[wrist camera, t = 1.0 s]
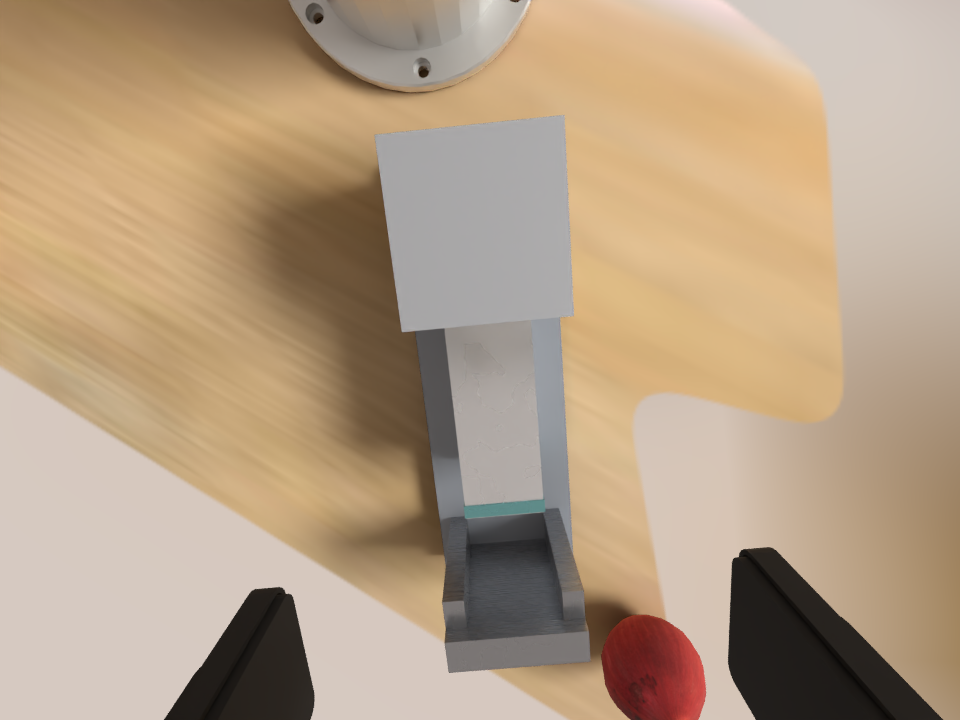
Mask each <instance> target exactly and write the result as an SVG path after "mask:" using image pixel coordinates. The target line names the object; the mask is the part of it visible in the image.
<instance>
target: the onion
mask: <svg viewBox="0 0 960 720" xmlns="http://www.w3.org/2000/svg"><path fill="white" fill-rule="evenodd" d="M601 658H602V665H603V672H604V679H605V685H606V687H607V690H608V692H609V695H610V697H611V698H612V700H613V701H614V703H615V704H616V706H617V707H618V708H619V709H620V710H621V711H622V712H623V713H624V714H625V715H626V716H627V717H628V718H629V719H631V720H698V719H699V717H700V714H701V711H702V708H703V705H704V702H705V697H706V685H705V677H704V670H703V665H702V662H701V659H700V656H699V655H698V653H697V651H696V650H695V648H694V647H693V645H692V643H691V642H690V640H689V639H688V638H687V637H686V635H685V634H684V633H683V632H682V631H680V630H679V629H678V628H676V627H674V626H673V625H672V624H670V623H669V622H667V621H665V620H663V619H661V618H658V617H654V616H650V615H632V616H630V617H627V618H625V619H623V620H622V621H621V622H619V623H618V624H617V625H616V626H615V627H614V628H613V629H612V630H611V631H610V633H609V635H608V637H607V640H606V642H605V644H604V647H603V651H602V654H601Z"/></svg>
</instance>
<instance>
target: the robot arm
mask: <svg viewBox="0 0 960 720" xmlns="http://www.w3.org/2000/svg"><path fill="white" fill-rule="evenodd" d="M288 1H289V3H290V5H291V8H292V9H293V11H294V12H295V14H296V15H297V17H298V18H299V20H300V22H301V23H302V25H303V26H304V28H305V29H306V31H307V32H308V33H309V35H310V36H311V37H312V38H313V39H314V41H315V42H316V43H317V44H318V46H319V47H320V48H321V49H322V50H323V51H324V52H325V53H326V54H327V55H329V56H330V57H331V58H332V59H333V60H334V61H335V62H336V63H337V64H338V65H339V66H341V67H342V68H344V69H345V70H347V71H349V72H350V73H352V74H353V75H355V76H357V77H358V78H360V79H361V80H364V81H366V82H369V83H372V84H374V85H377V86H379V87H382V88H385V89H391V90H397V91H404V92H423V91H434V90H438V89H441V88H445V87H449V86H452V85H455V84H457V83H459V82H461V81H463V80H465V79H467V78H469V77H471V76H473V75H475V74H477V73H478V72H479V71H481V70H482V69H483V68H484V67H486V66H487V65H488V64H489V63H491V62H492V61H493V60H494V59H496V57H497V56H498V55H499V54H500V53H501V52H502V50H503V49H504V48H505V47H506V46H507V45H508V43H509V42H510V41H511V40H512V39H513V37H514V35H515V34H516V32H517V30H518V28H519V27H520V25H521V23H522V22H523V20H524V18H525V16H526V14H527V12H528V9H529V6H530V3H531V1H532V0H519V2H517V3H516V2H511V1H510V0H288ZM319 17H324V19H323V20H322V22H321V23H319V24H316V20H317V19H318V18H319ZM422 69H427V70H428V71H429V74H428V76H427V77H425V78H421V77H420V76H419V72H420V71H421V70H422ZM728 665H729V670H730V673H731V676H732V678H733V681H734V683H735V685H736V686H737V688H738V690H739V691H740V693H741V695H742V697H743V698H744V700H745V702H746V703H747V705H748V707H749V708H750V710H751V712H752V714H753V715H754V717H755V719H756V720H943V719H942V718H941V717H940V716H939V715H938V714H937V713H936V712H935V711H934V710H933V709H932V708H931V707H930V706H929V705H928V704H927V703H926V702H925V701H924V700H923V699H922V698H921V697H920V696H919V695H918V694H917V693H916V691H915V690H914V689H913V688H912V687H911V686H910V685H909V684H908V683H907V682H906V681H905V680H904V679H903V678H902V677H901V676H900V675H899V674H898V673H897V672H896V671H895V670H894V669H893V668H892V667H891V666H890V665H889V664H888V663H887V662H886V661H885V660H884V659H883V658H882V657H881V656H880V655H879V654H878V653H877V651H875V649H874V648H873V647H871V645H870V644H869V643H868V642H867V641H866V640H865V639H864V638H863V637H862V636H861V635H860V634H859V633H858V632H857V631H856V630H855V629H854V628H853V627H852V626H851V625H850V624H849V623H848V622H847V621H845V620H844V619H843V618H842V617H840V616H839V615H838V614H837V613H836V612H835V611H834V610H833V609H832V608H831V607H830V606H829V605H828V604H827V603H826V602H825V600H823V599H822V597H821V596H820V595H819V594H818V593H816V591H815V590H814V589H813V588H812V587H811V586H810V585H809V584H808V583H807V582H806V581H805V580H804V579H803V578H802V577H801V576H800V575H799V574H798V573H797V572H796V571H795V570H794V569H793V568H792V567H791V565H790V564H789V563H788V562H787V561H786V560H785V559H784V558H783V557H782V556H781V555H780V554H779V553H778V552H777V551H776V550H774V549H773V548H770V547H767V548H754V549H743V550H741V552H740V554H739V557H737V558H734V559H733V561H732V577H731V602H730V626H729V652H728ZM313 708H314V690H313V685H312V681H311V676H310V672H309V667H308V663H307V658H306V654H305V649H304V645H303V640H302V636H301V631H300V627H299V623H298V618H297V613H296V609H295V604H294V600H293V597H292V595H291V594H286V593H285V590H283V588H280V587H276V588H264V589H255V590H253V591H251V593H250V594H249V595H248V597H247V598H246V600H245V601H244V603H243V604H242V606H241V607H240V609H239V610H238V612H237V613H236V615H235V616H234V618H233V619H232V621H231V623H230V624H229V625H228V627H227V629H226V630H225V632H224V633H223V635H222V636H221V638H220V639H219V641H218V642H217V644H216V645H215V647H214V648H213V650H212V651H211V653H210V654H209V656H208V657H207V659H206V660H205V662H204V663H203V665H202V666H201V667H200V668H199V670H198V671H197V672H196V673H195V674H194V675H193V677H192V678H191V680H190V682H189V683H188V684H187V686H186V687H185V689H184V691H183V692H182V694H181V695H180V697H179V698H178V700H177V701H176V703H175V704H174V706H173V707H172V709H171V710H170V712H169V713H168V715H167V716H166V718H165V719H164V720H310V719H311V716H312V713H313Z"/></svg>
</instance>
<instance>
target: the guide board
mask: <svg viewBox="0 0 960 720" xmlns="http://www.w3.org/2000/svg"><path fill="white" fill-rule="evenodd" d="M375 142H376V149H377V156H378V164H379V171H380V178H381V185H382V193H383V200H384V207H385V214H386V222H387V229H388V236H389V243H390V251H391V258H392V265H393V272H394V280H395V287H396V294H397V301H398V308H399V316H400V323H401V330H402V332H410V331H415V334H416V342H417V350H418V357H419V365H420V372H421V380H422V388H423V395H424V403H425V411H426V418H427V426H428V433H429V441H430V449H431V456H432V464H433V472H434V479H435V487H436V495H437V502H438V510H439V517H440V525H441V533H442V540H443V548H444V556H445V563H446V561H447V551H448V542H449V532H450V522H451V517H460V516H465V514H464V495H463V486H462V477H461V469H460V460H459V451H458V443H457V434H456V425H455V417H454V408H453V400H452V391H451V382H450V374H449V365H448V356H447V348H446V339H445V330H444V328H452V327H462V326H473V325H484V324H494V323H505V322H515V321H526V320H531V330H532V344H533V358H534V372H535V387H536V401H537V415H538V429H539V444H540V458H541V472H542V486H543V495H544V499H545V509H553V508H559V510H560V513H561V517H562V520H563V523H564V527H565V530H566V533H567V537H568V540H569V543H570V547H571V550H572V553H573V546H572V527H571V509H570V491H569V473H568V455H567V436H566V418H565V400H564V382H563V364H562V346H561V327H560V317H568V316H574V307H573V286H572V265H571V244H570V223H569V202H568V181H567V160H566V139H565V118H564V115H560V116H550V117H540V118H531V119H521V120H512V121H502V122H492V123H483V124H473V125H464V126H454V127H444V128H435V129H425V130H416V131H406V132H396V133H387V134H377V135H375ZM468 527H469V535H470V544H481V543H493V542H505V541H517V540H528V539H540V538H544V524H543V512H541V513H529V514H518V515H506V516H495V517H483V518H471V519H468Z"/></svg>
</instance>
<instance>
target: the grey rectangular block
mask: <svg viewBox="0 0 960 720" xmlns="http://www.w3.org/2000/svg"><path fill="white" fill-rule="evenodd" d="M444 330H445V339H446V348H447V356H448V365H449V374H450V382H451V391H452V400H453V408H454V417H455V425H456V434H457V443H458V451H459V460H460V469H461V477H462V486H463V495H464V514H465V519H471V518H483V517H495V516H506V515H518V514H529V513H541V512H545V499H544V495H543V486H542V472H541V458H540V444H539V429H538V415H537V401H536V387H535V372H534V358H533V344H532V330H531V320H526V321H515V322H505V323H494V324H484V325H473V326H462V327H452V328H444Z"/></svg>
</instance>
